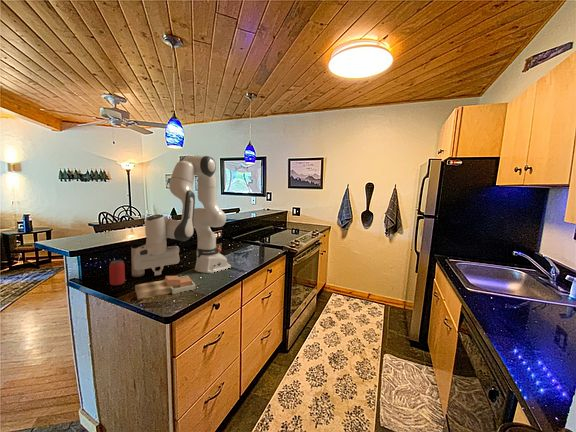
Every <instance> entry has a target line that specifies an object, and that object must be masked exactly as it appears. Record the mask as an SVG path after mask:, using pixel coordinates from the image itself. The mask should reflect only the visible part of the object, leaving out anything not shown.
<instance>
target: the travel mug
mask: <svg viewBox="0 0 576 432" xmlns="http://www.w3.org/2000/svg"><path fill="white" fill-rule="evenodd" d="M130 245H131V247H130V248H131V249H130V250H131V277H133V278H139V277H143V276H145V270H146V269H142V270H135V269H134V268H133V259H134V255H135V254H136V252H135V250H136V248H138V247H141V246H143V245H145V242H144V241H142V240H131V241H130Z"/></svg>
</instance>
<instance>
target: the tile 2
mask: <svg viewBox="0 0 576 432" xmlns="http://www.w3.org/2000/svg"><path fill="white" fill-rule="evenodd" d="M180 279H181V280H180V285H178V286H179V288H181V287H186V286H191V285H192V281H193V280H192V279H191V277H189V276H188V277H186V278H180Z"/></svg>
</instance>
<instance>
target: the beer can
mask: <svg viewBox="0 0 576 432" xmlns="http://www.w3.org/2000/svg"><path fill="white" fill-rule="evenodd" d="M108 267H109V272H108V273H109V285H111V286H120V285H122V284H125V282H126V271H125V269H126V268H125V267H126V266H125V262H124V260H123V259H115V260H112V261H110V262H109V266H108Z"/></svg>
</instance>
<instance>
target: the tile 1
mask: <svg viewBox="0 0 576 432" xmlns="http://www.w3.org/2000/svg"><path fill="white" fill-rule="evenodd" d="M179 277H180V276H178V275H165V277H164V280H165V283H166V285H167V286H174V285H180V280H181V279H180V278H179Z"/></svg>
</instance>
